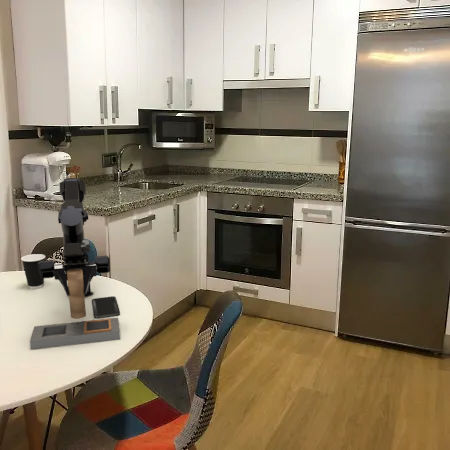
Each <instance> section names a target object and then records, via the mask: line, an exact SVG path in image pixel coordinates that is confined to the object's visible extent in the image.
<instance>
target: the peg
mask: <svg viewBox="0 0 450 450" xmlns="http://www.w3.org/2000/svg"><path fill="white" fill-rule="evenodd" d="M67 279H68V281H67V285H68V290H69V297H68V299H69V311H70V313H69V314H70V318H71V319H73V320H79V319H84V318H85V317H86V316H87V311H86V300H85V299H86V297H85V296H84V283H83V271H82V269H78V268H76V269H70V270H68V271H67Z"/></svg>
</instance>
